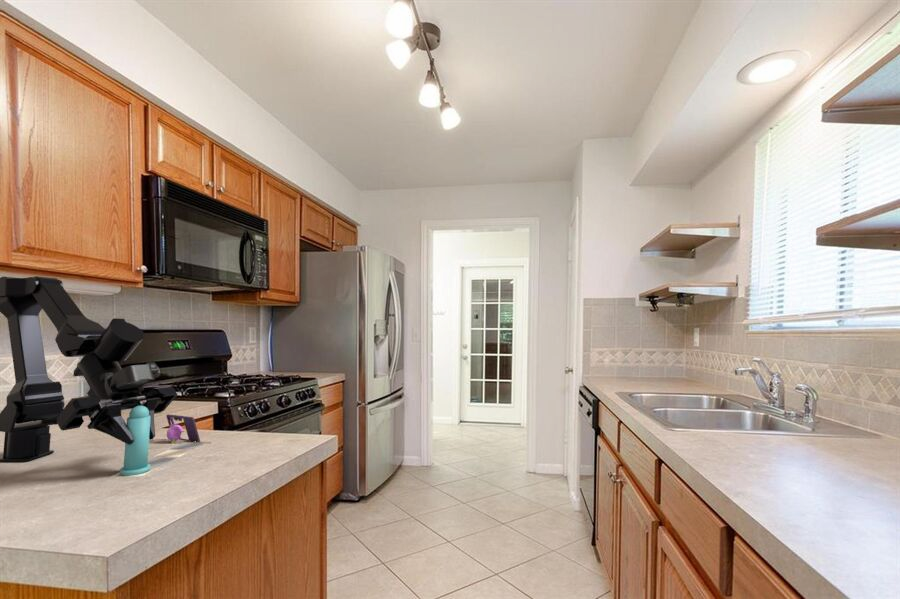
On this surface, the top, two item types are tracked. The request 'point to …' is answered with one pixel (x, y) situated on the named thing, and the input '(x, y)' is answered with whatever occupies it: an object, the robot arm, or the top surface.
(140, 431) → the pawn
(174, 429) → the purple piece
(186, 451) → the board
